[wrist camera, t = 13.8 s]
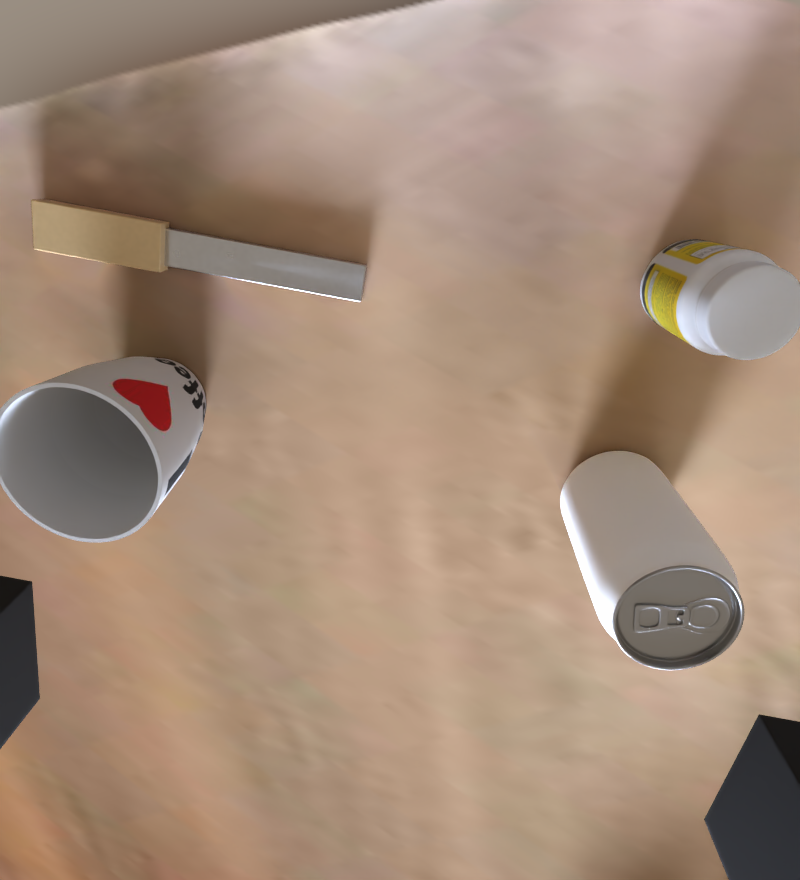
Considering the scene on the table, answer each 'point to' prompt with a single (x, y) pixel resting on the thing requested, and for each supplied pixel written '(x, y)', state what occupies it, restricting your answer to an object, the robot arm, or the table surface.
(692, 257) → the supplement bottle
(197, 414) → the cup
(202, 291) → the table surface
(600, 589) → the can
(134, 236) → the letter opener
